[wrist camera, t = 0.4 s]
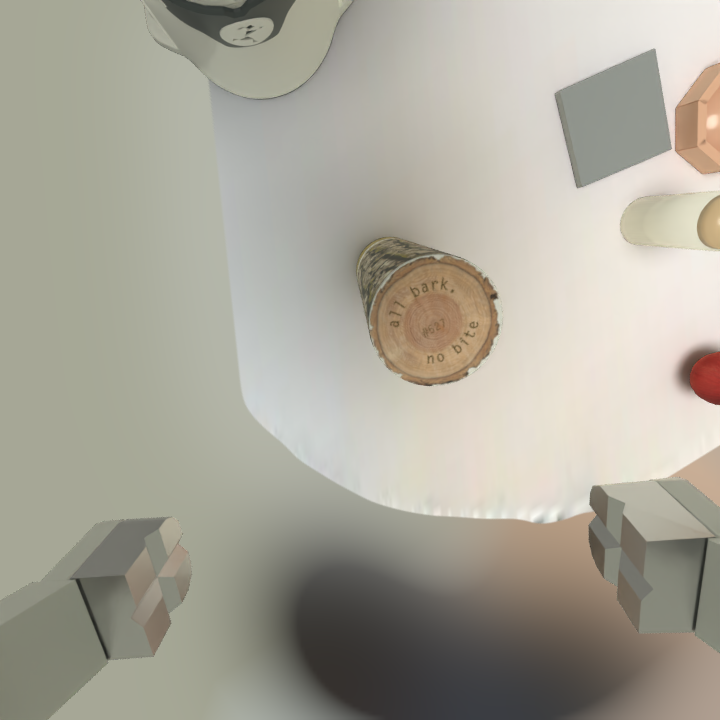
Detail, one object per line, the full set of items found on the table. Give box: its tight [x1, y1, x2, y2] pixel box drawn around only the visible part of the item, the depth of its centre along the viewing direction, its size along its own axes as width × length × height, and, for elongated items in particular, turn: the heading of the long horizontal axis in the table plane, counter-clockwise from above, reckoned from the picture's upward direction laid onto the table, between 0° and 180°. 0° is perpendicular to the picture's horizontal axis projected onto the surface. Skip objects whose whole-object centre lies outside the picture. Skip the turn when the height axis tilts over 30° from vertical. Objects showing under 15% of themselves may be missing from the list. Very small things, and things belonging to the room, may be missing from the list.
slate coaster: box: [555, 49, 672, 188], centre depth 41 cm, size 9×9×1 cm
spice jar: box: [620, 191, 720, 251], centre depth 40 cm, size 5×5×11 cm
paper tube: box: [356, 237, 503, 386], centre depth 34 cm, size 7×7×25 cm
